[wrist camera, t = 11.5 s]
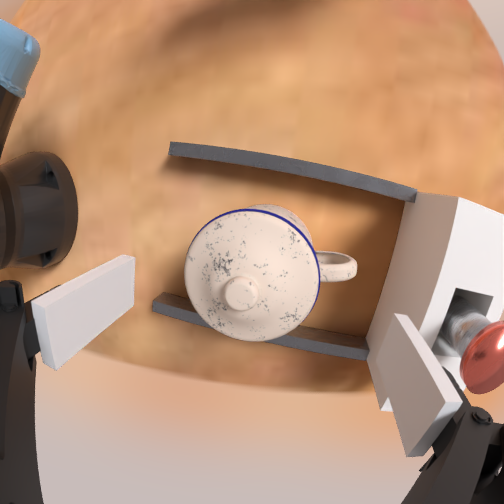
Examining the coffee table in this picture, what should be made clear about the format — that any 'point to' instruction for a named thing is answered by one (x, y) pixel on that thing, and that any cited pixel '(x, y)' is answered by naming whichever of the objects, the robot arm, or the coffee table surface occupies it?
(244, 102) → the coffee table surface
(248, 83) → the coffee table surface
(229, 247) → the teacup with lid
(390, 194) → the pair of grey rails
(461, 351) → the red knob
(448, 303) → the end cabinet
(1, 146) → the robot arm
